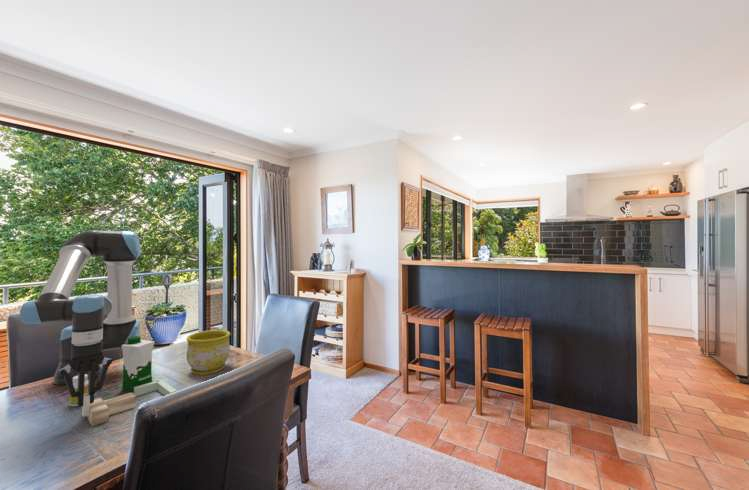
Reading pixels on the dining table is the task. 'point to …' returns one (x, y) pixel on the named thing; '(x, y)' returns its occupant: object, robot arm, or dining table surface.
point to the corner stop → (154, 388)
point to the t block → (109, 407)
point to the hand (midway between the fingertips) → (85, 414)
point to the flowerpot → (208, 351)
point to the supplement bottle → (74, 400)
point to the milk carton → (137, 363)
